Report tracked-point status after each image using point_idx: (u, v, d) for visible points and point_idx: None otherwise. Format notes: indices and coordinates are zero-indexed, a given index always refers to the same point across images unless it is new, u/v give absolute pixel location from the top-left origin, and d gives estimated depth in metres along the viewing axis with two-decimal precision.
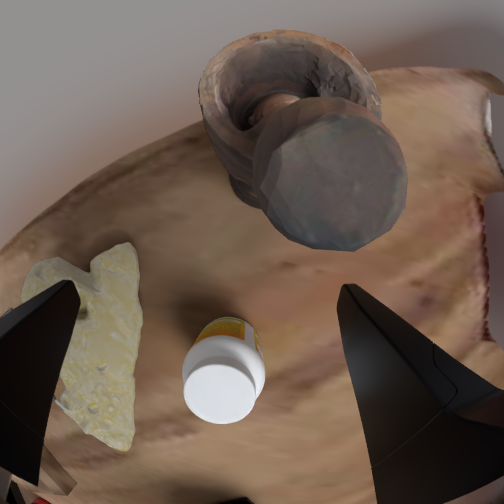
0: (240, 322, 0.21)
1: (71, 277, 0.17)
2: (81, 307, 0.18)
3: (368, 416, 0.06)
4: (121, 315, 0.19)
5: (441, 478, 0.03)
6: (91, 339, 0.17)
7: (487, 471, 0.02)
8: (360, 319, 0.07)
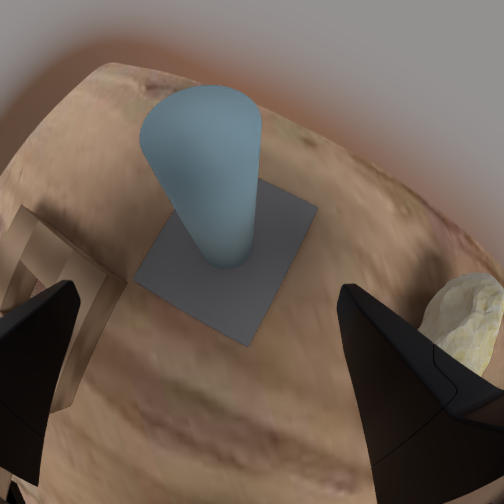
0: None
1: None
2: None
3: (368, 416, 0.06)
4: None
5: (441, 478, 0.03)
6: None
7: (487, 471, 0.02)
8: (360, 319, 0.07)
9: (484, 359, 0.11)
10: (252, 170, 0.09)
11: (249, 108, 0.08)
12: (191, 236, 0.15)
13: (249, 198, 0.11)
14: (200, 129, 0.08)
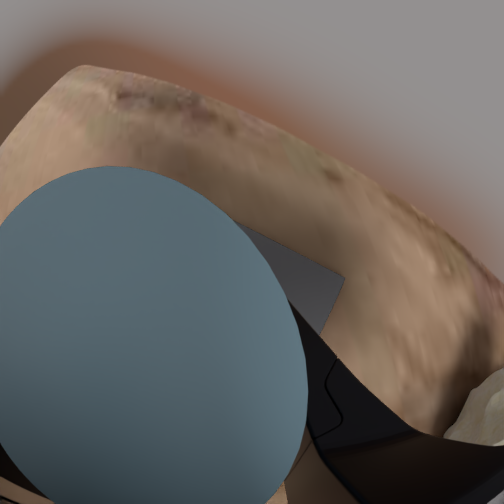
0: None
1: None
2: None
3: None
4: None
5: None
6: None
7: None
8: None
9: None
10: None
11: (256, 321, 0.02)
12: None
13: None
14: (78, 407, 0.02)
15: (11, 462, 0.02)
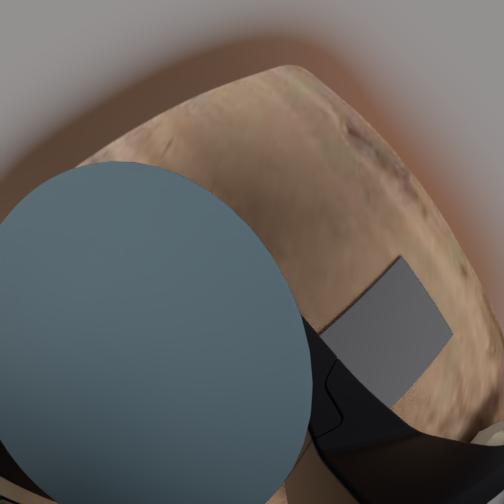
0: None
1: None
2: None
3: None
4: None
5: None
6: None
7: None
8: None
9: None
10: None
11: (261, 314, 0.02)
12: None
13: None
14: (82, 403, 0.02)
15: (11, 462, 0.02)
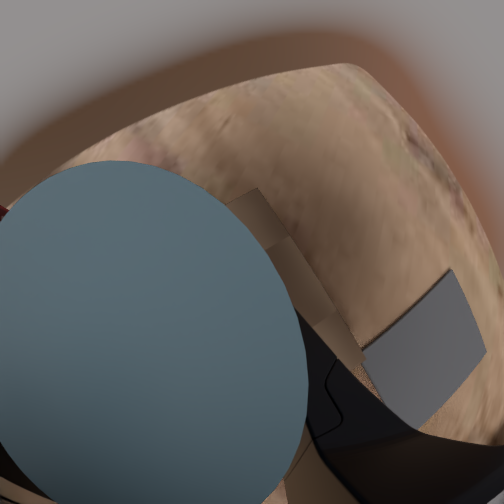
0: None
1: None
2: None
3: None
4: None
5: None
6: None
7: None
8: None
9: None
10: None
11: (256, 313, 0.02)
12: None
13: None
14: (77, 403, 0.02)
15: (11, 462, 0.02)
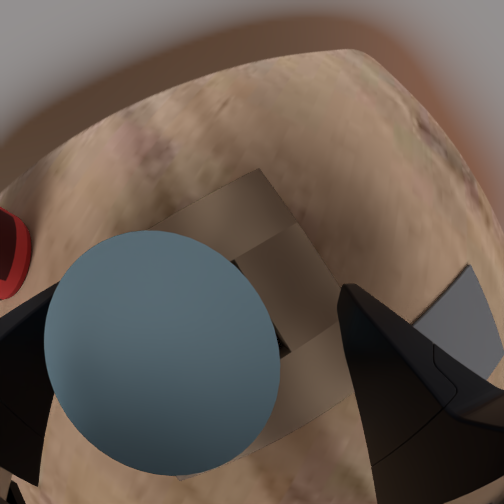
0: None
1: None
2: None
3: (368, 416, 0.06)
4: None
5: (441, 478, 0.03)
6: None
7: (487, 471, 0.02)
8: (360, 319, 0.07)
9: None
10: None
11: (252, 325, 0.04)
12: None
13: None
14: (146, 381, 0.03)
15: None
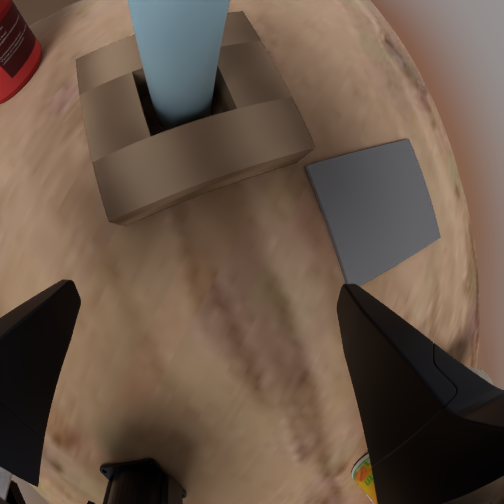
0: None
1: None
2: None
3: (368, 416, 0.06)
4: None
5: (441, 478, 0.03)
6: None
7: (487, 471, 0.02)
8: (360, 319, 0.07)
9: None
10: (217, 7, 0.07)
11: None
12: (148, 85, 0.12)
13: (209, 40, 0.08)
14: None
15: None
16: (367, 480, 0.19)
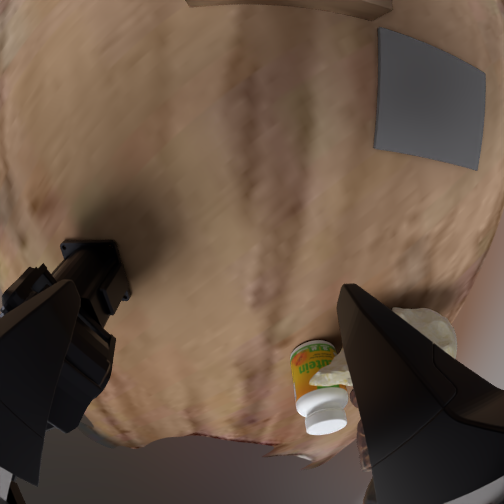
0: None
1: None
2: None
3: (368, 416, 0.06)
4: None
5: (441, 478, 0.03)
6: None
7: (487, 471, 0.02)
8: (360, 319, 0.07)
9: None
10: None
11: None
12: None
13: None
14: None
15: None
16: (302, 367, 0.26)
